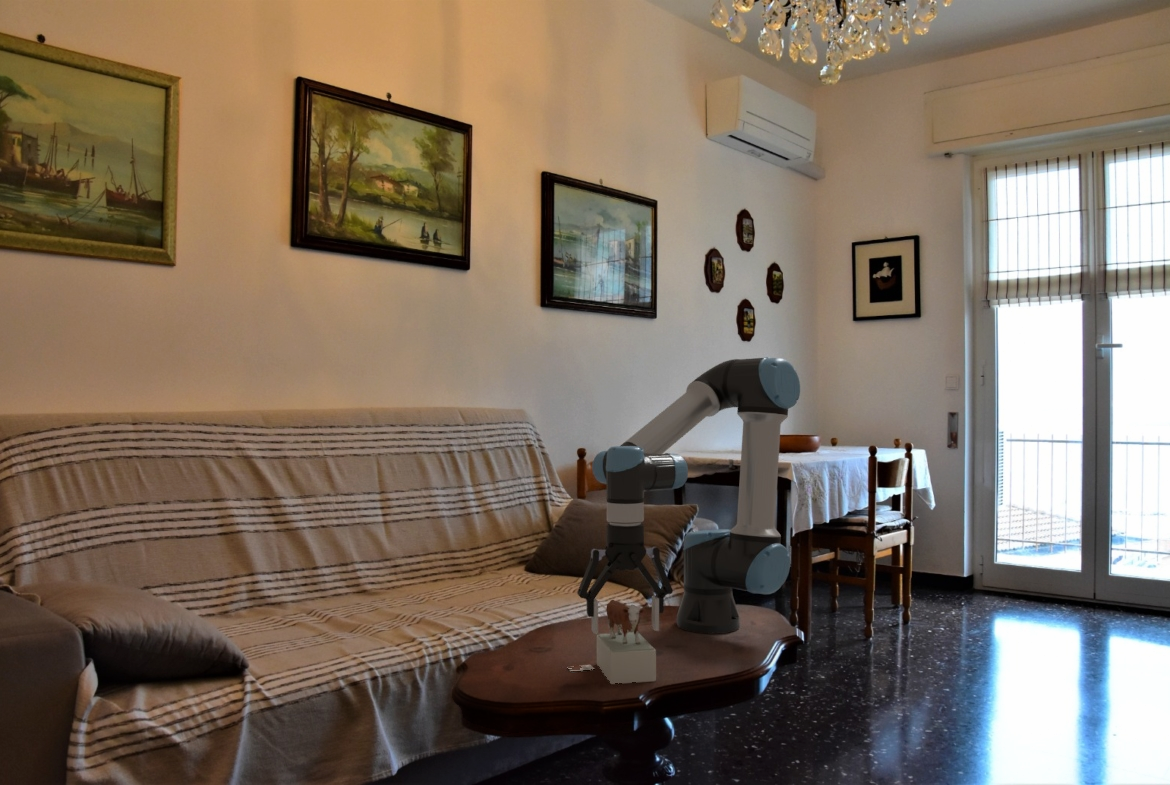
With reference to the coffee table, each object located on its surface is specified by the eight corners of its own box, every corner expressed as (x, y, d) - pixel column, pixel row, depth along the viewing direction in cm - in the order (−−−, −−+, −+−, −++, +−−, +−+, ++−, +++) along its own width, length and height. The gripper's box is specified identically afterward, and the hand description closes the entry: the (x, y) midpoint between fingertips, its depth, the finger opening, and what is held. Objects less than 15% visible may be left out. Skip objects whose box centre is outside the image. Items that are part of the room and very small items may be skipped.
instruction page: (590, 665, 180) (590, 664, 180) (595, 669, 177) (595, 668, 177) (567, 668, 179) (567, 667, 179) (571, 672, 176) (571, 671, 176)
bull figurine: (629, 650, 169) (629, 608, 169) (602, 633, 181) (602, 594, 181) (649, 648, 170) (649, 606, 170) (622, 631, 183) (621, 592, 183)
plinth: (638, 661, 183) (638, 631, 183) (656, 681, 170) (655, 648, 170) (596, 664, 181) (596, 633, 181) (611, 684, 168) (610, 651, 168)
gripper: (676, 518, 182) (677, 623, 182) (562, 522, 177) (562, 629, 177) (688, 523, 175) (688, 632, 175) (569, 527, 170) (569, 639, 170)
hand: (625, 631), depth 176 cm, fingers open, 12 cm apart
